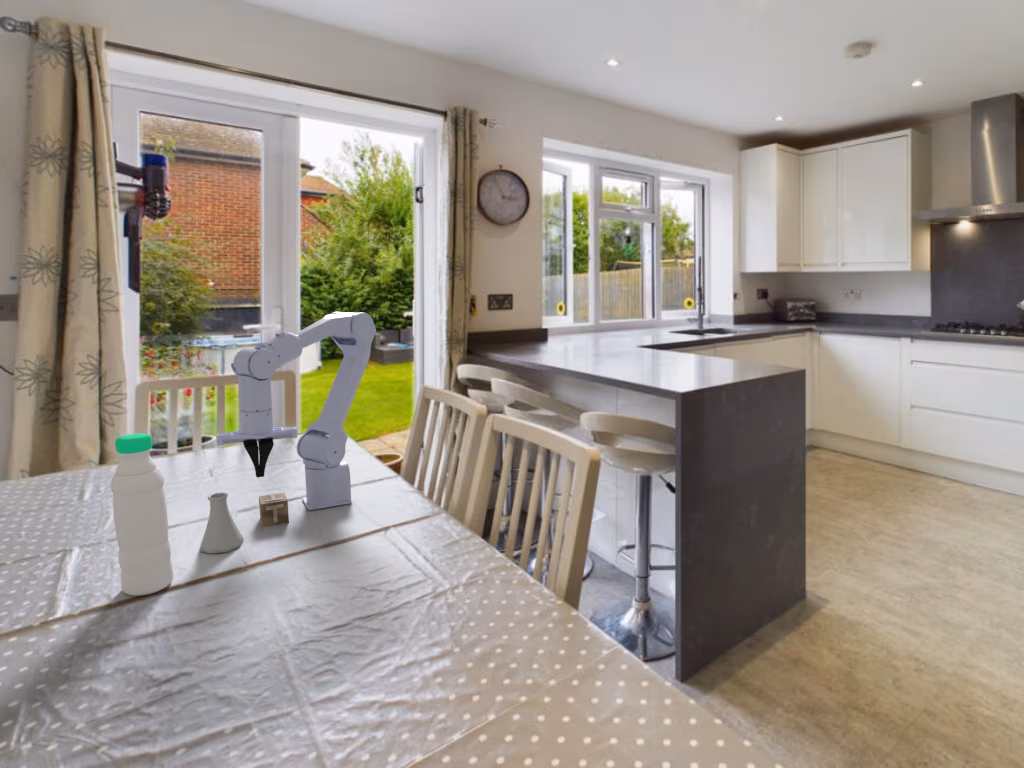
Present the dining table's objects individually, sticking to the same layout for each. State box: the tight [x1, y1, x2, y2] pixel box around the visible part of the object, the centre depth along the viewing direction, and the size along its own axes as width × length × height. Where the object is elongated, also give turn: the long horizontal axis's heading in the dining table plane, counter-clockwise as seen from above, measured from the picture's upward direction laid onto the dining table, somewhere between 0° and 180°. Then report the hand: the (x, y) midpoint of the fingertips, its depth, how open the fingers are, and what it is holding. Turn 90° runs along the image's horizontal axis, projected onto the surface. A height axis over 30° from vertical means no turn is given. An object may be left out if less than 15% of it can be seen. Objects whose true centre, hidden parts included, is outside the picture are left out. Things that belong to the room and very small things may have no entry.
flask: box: [198, 491, 244, 554], centre depth 106 cm, size 7×7×10 cm
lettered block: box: [258, 492, 290, 528], centre depth 118 cm, size 5×5×5 cm
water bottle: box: [109, 432, 174, 597], centre depth 90 cm, size 7×7×25 cm
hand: (260, 475), depth 115 cm, fingers closed
